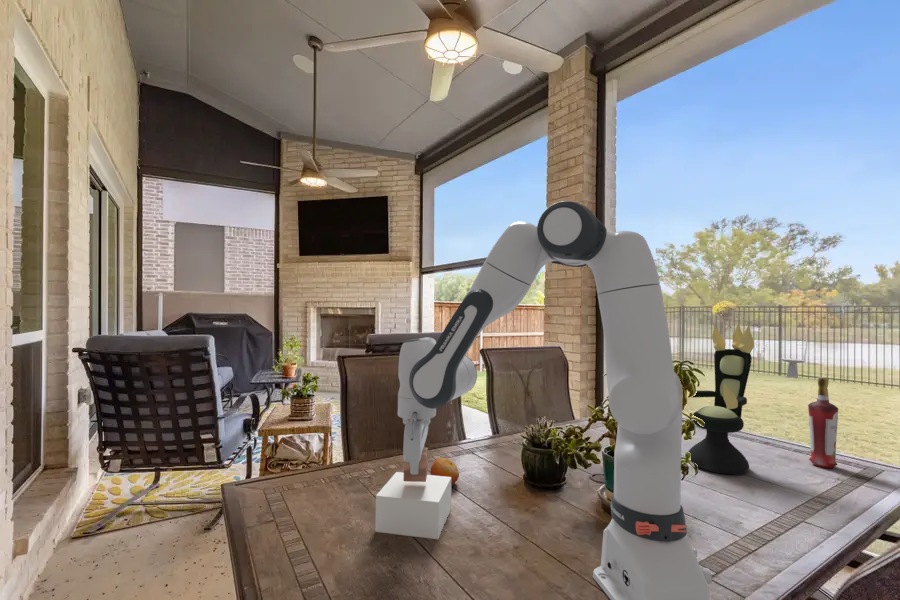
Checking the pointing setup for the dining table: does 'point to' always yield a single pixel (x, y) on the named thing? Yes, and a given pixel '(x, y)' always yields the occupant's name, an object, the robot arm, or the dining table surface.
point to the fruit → (445, 469)
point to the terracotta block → (422, 469)
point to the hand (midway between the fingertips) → (416, 468)
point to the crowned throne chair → (725, 406)
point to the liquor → (823, 428)
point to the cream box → (413, 506)
